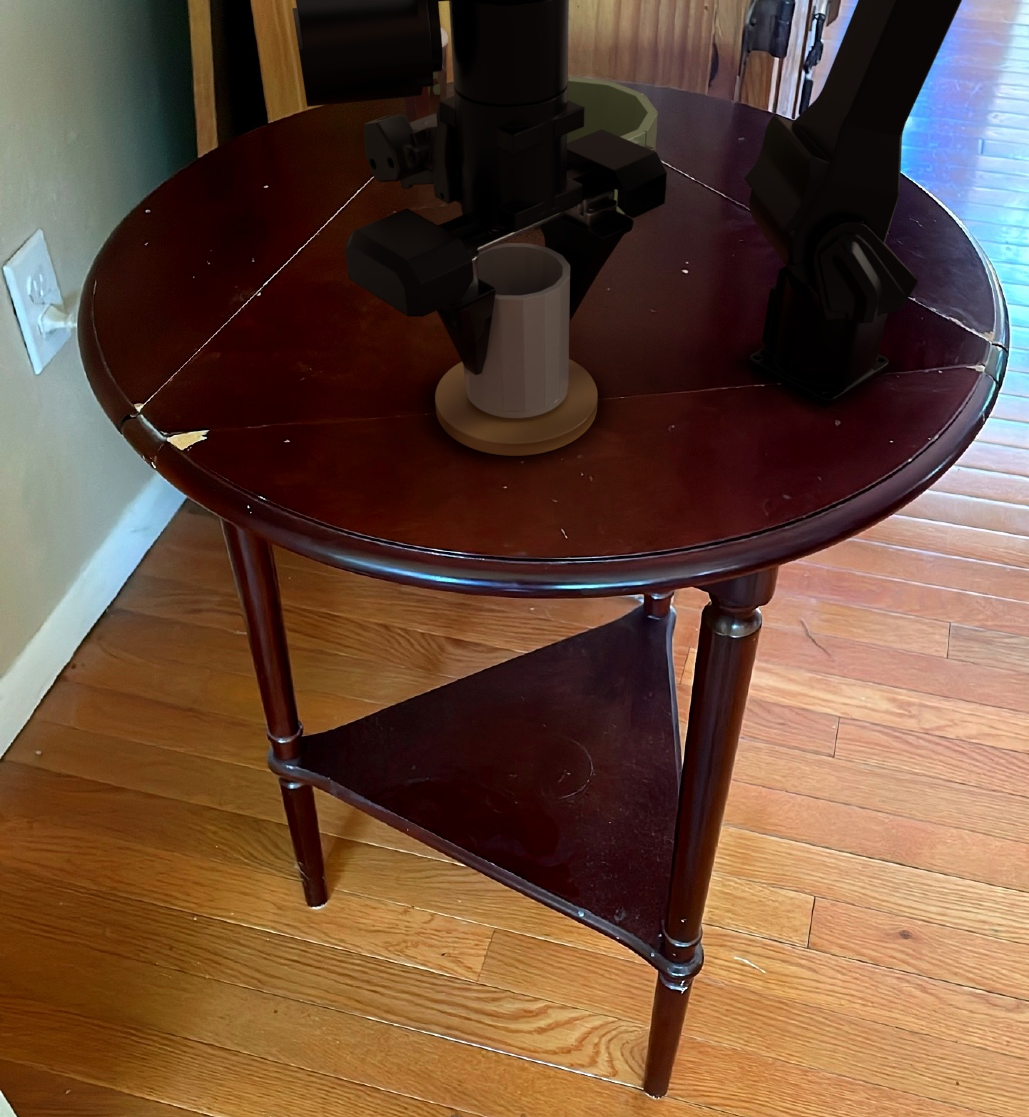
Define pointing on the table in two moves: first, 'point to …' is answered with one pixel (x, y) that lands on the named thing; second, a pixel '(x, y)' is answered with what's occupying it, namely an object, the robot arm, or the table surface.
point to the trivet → (516, 432)
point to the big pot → (614, 112)
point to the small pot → (524, 332)
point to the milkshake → (430, 90)
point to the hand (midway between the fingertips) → (516, 349)
